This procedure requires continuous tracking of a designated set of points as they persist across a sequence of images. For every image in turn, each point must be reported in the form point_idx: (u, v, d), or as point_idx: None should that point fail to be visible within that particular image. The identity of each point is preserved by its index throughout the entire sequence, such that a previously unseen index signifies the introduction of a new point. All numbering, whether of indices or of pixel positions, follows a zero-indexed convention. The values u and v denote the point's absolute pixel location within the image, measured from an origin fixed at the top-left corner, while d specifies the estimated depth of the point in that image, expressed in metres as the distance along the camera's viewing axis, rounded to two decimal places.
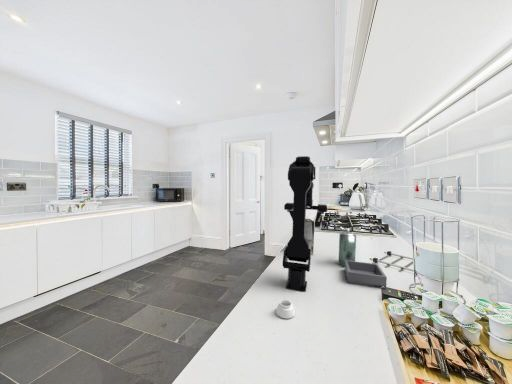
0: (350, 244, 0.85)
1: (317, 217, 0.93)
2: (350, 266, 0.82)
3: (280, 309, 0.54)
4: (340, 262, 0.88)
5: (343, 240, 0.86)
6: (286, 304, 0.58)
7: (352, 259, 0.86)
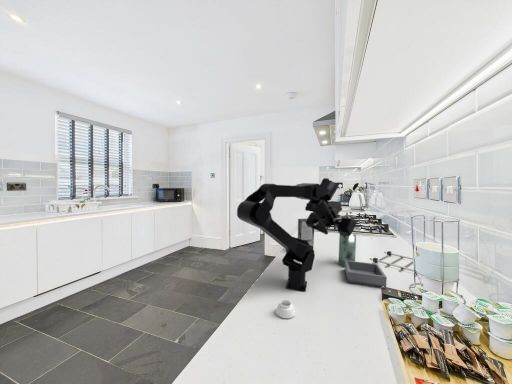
0: (350, 244, 0.85)
1: (343, 236, 0.76)
2: (350, 266, 0.82)
3: (280, 309, 0.54)
4: (340, 262, 0.88)
5: (343, 240, 0.86)
6: (286, 304, 0.58)
7: (352, 259, 0.86)
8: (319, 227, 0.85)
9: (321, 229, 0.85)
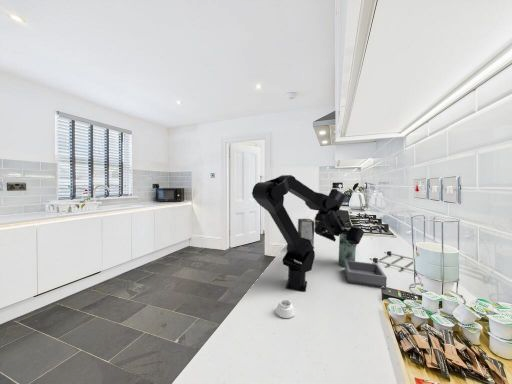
0: (350, 244, 0.85)
1: (351, 244, 0.80)
2: (350, 266, 0.82)
3: (280, 309, 0.54)
4: (340, 262, 0.88)
5: (343, 240, 0.86)
6: (286, 304, 0.58)
7: (352, 259, 0.86)
8: (327, 235, 0.88)
9: (329, 236, 0.89)
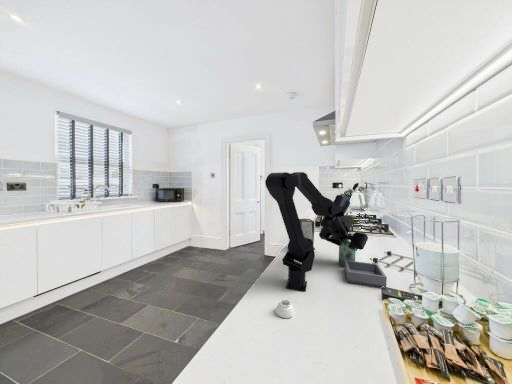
0: None
1: (352, 248, 0.83)
2: (350, 266, 0.82)
3: (279, 308, 0.54)
4: (340, 262, 0.88)
5: None
6: (285, 303, 0.58)
7: (352, 259, 0.86)
8: (334, 240, 0.89)
9: (336, 242, 0.90)
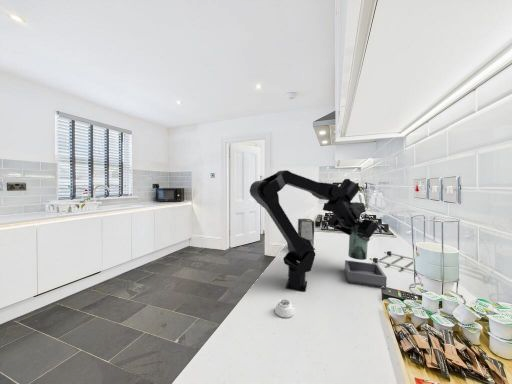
0: None
1: (361, 237, 0.76)
2: (350, 266, 0.82)
3: (279, 308, 0.55)
4: (349, 252, 0.81)
5: (353, 229, 0.80)
6: (285, 303, 0.58)
7: (362, 250, 0.78)
8: (344, 229, 0.83)
9: (346, 231, 0.83)
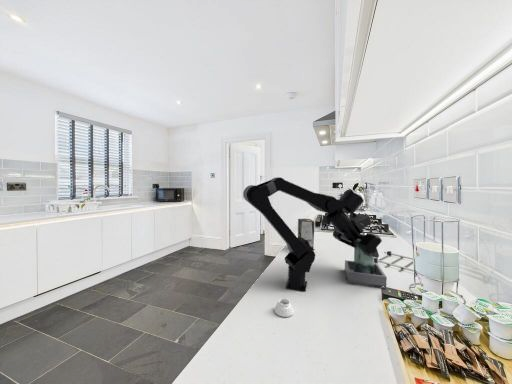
0: None
1: None
2: (350, 266, 0.82)
3: (279, 307, 0.55)
4: (354, 271, 0.77)
5: (356, 246, 0.75)
6: (285, 303, 0.58)
7: (367, 269, 0.73)
8: (347, 241, 0.80)
9: (350, 243, 0.80)
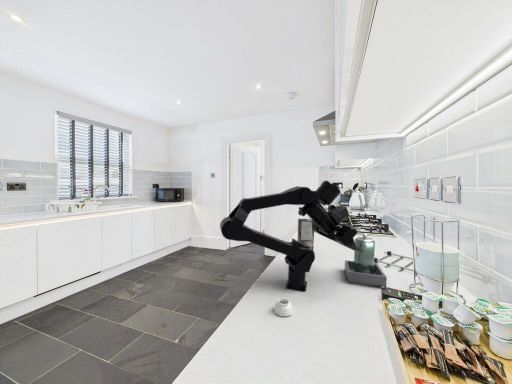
0: (364, 252, 0.73)
1: None
2: (350, 266, 0.82)
3: (278, 307, 0.55)
4: (354, 271, 0.77)
5: (357, 247, 0.75)
6: (284, 302, 0.58)
7: (367, 269, 0.73)
8: (326, 234, 0.78)
9: (329, 236, 0.78)
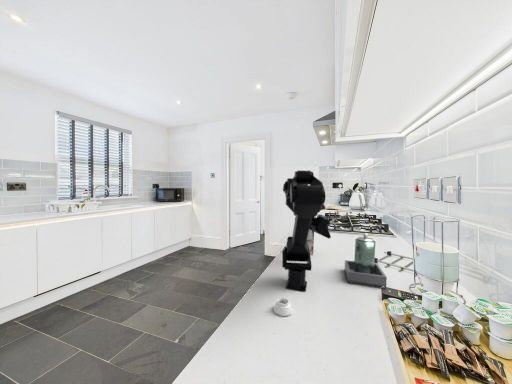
0: (364, 251, 0.73)
1: None
2: (350, 266, 0.82)
3: (278, 307, 0.55)
4: (354, 271, 0.77)
5: (357, 246, 0.75)
6: (284, 302, 0.58)
7: (367, 269, 0.73)
8: None
9: (309, 227, 0.89)
